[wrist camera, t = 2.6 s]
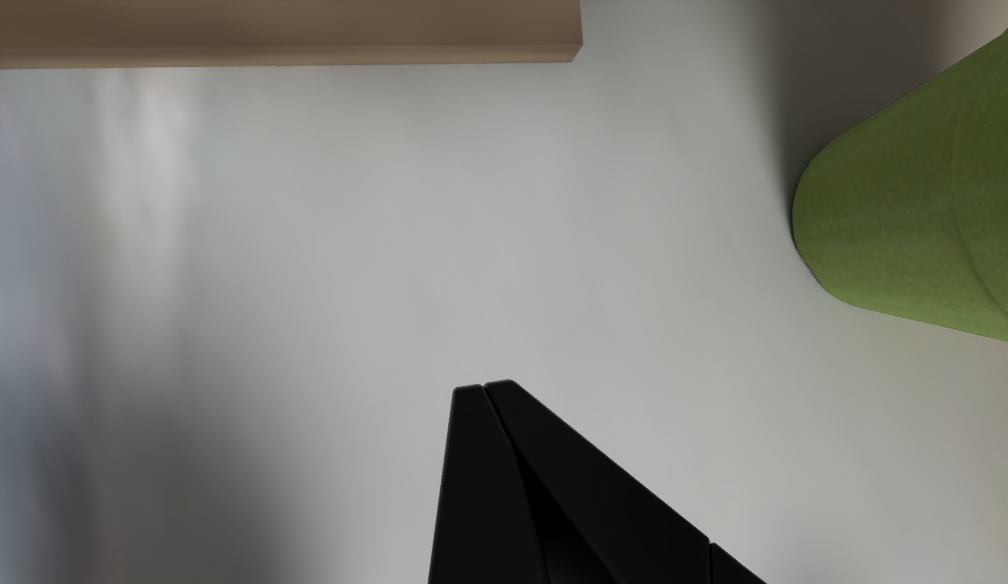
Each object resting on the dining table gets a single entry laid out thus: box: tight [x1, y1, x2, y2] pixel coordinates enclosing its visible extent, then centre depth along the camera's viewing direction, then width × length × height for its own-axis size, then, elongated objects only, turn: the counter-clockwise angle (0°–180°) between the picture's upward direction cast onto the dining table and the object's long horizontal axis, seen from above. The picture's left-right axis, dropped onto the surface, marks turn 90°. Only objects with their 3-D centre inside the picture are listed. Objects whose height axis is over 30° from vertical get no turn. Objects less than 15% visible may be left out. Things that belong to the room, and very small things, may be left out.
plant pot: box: [792, 28, 1008, 342], centre depth 18 cm, size 12×12×11 cm
